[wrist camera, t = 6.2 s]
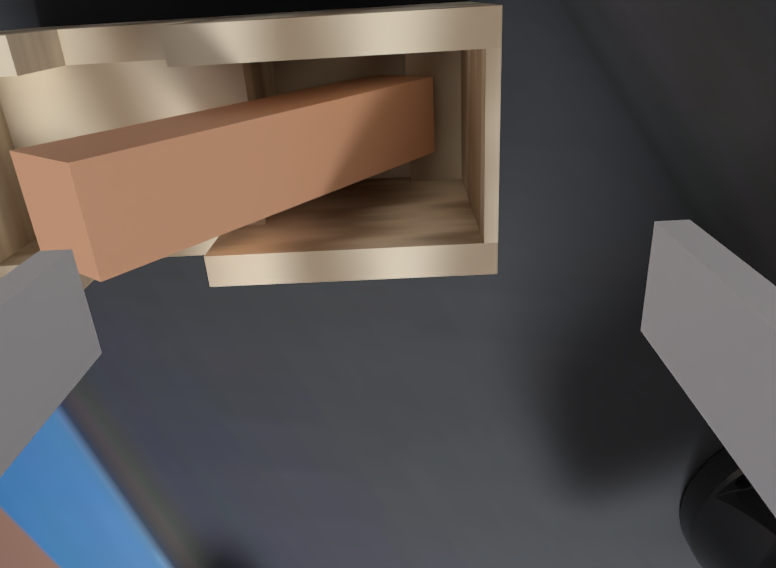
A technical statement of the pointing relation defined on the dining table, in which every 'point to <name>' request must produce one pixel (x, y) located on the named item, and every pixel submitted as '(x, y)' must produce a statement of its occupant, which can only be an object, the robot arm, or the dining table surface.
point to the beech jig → (269, 78)
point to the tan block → (216, 168)
